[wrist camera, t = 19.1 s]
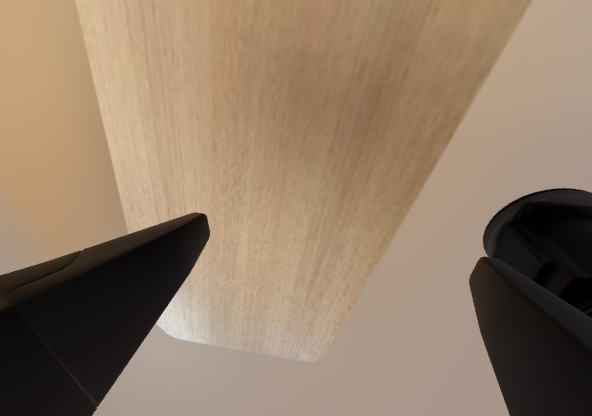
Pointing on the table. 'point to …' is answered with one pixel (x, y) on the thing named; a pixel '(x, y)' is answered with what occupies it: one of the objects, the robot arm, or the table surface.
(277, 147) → the table surface
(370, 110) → the table surface
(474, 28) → the table surface
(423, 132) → the table surface
